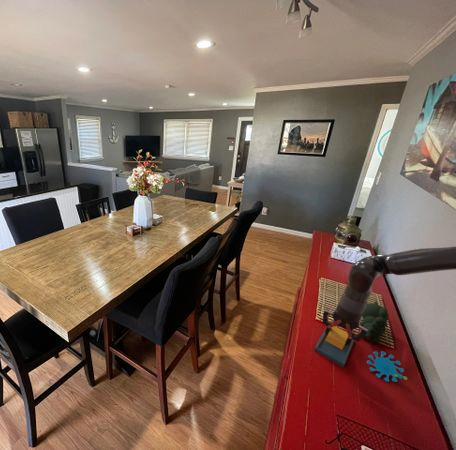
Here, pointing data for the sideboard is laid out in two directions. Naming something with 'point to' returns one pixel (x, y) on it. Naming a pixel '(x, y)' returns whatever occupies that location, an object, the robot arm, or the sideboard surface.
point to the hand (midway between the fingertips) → (336, 339)
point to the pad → (337, 337)
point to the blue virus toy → (386, 367)
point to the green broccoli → (374, 321)
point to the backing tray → (333, 350)
